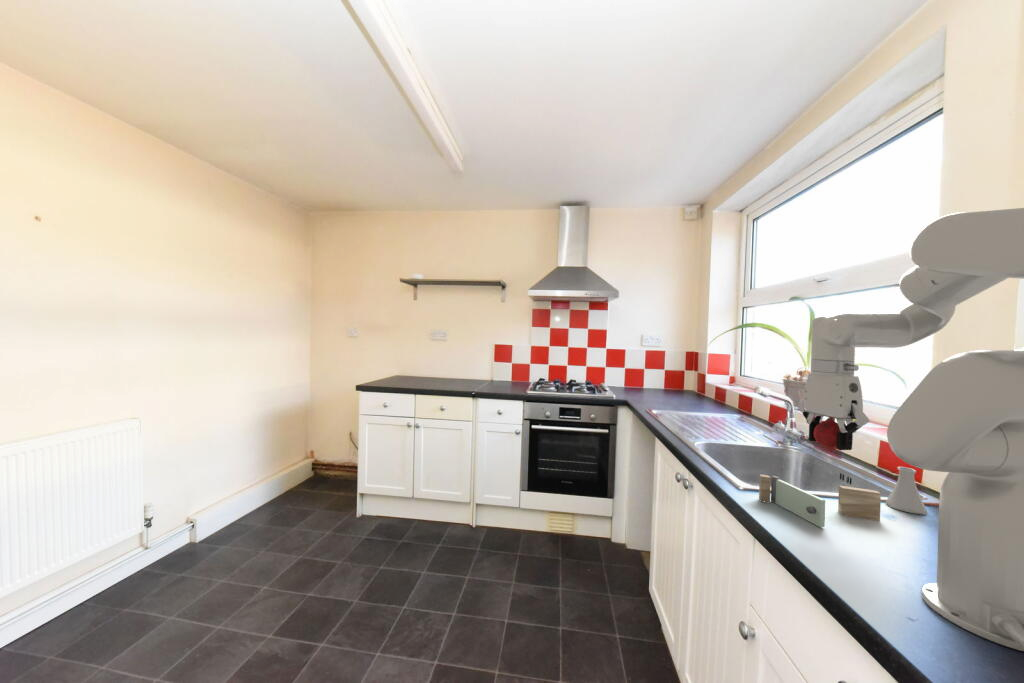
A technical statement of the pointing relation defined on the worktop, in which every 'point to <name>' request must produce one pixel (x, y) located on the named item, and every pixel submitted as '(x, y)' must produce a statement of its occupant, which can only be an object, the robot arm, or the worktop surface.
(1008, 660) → the worktop surface
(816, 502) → the door
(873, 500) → the door frame
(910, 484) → the flask
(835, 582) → the worktop surface
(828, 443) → the onion
